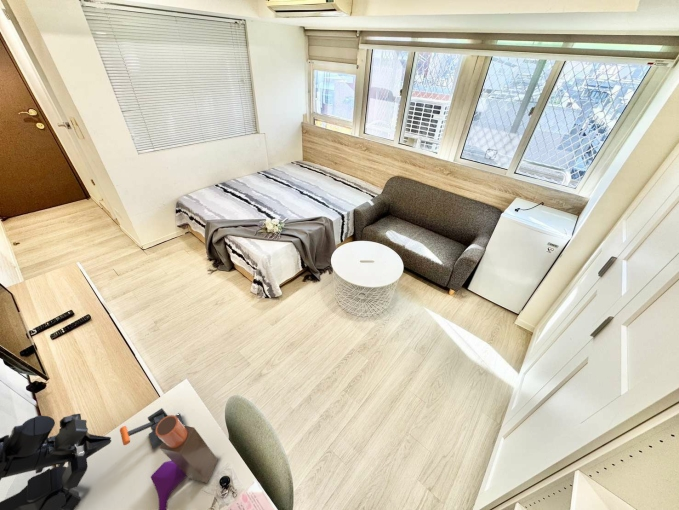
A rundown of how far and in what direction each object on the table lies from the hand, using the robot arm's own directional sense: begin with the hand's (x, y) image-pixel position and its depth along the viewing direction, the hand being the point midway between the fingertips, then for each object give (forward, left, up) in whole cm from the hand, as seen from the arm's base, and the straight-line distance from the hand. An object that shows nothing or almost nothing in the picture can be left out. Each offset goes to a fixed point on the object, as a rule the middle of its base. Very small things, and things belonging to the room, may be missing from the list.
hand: (110, 440), depth 79 cm
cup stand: (+25, +1, -14) cm, 29 cm away
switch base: (+6, +9, -14) cm, 17 cm away
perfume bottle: (+18, +1, -8) cm, 20 cm away
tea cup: (+25, +1, +10) cm, 28 cm away
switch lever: (+4, +5, -5) cm, 8 cm away
